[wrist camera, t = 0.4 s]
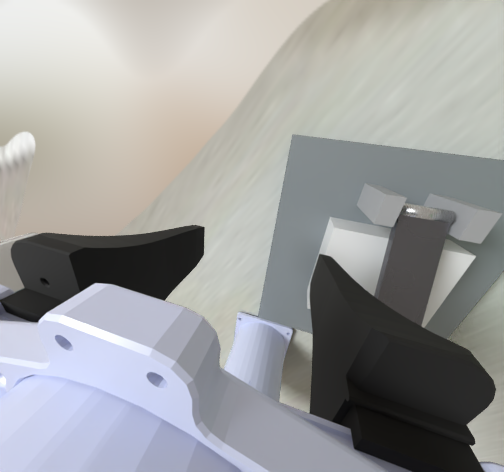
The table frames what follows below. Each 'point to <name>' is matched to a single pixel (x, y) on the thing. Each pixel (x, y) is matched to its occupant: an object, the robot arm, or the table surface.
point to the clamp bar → (413, 259)
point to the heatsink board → (382, 224)
